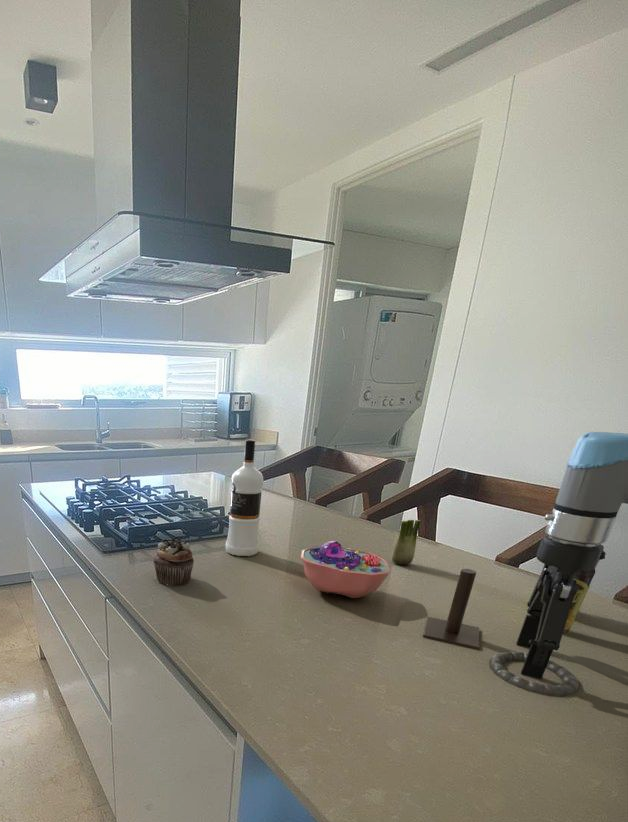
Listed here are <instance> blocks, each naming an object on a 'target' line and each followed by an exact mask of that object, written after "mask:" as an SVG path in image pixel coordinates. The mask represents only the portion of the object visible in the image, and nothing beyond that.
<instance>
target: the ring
mask: <svg viewBox="0 0 628 822" xmlns="http://www.w3.org/2000/svg"><path fill="white" fill-rule="evenodd" d="M527 655H528V653H526V652H517V651H505V652H499V653H496V654H495V655H493V656H491V658H489V660H488V667H489V669H490V670H491V671H492V673H493V674H494V675H495V676H497V677H498V678H499V679H501V680H503V681H505V682H506V683H508V684H510V685H512V686H514V687H517V688H519V689H521V690H524V691H527V692H531V693H535V694H539V695H542V696H551V697H565V696H572V695H574V694H575V693H577V691H578V690H579V688H580V684H579V682H578V679H577V677H576V676H575V675H574V674H573V673H572V672H571V671H569V669H568V668H566V667H564V666H562V665H560V664H559V663H557V662H556V661H553V660H550V659H549V661H548V664H547V666H546V669H545V670H547V671H549V672H551V673H553V674H555V675H556V676H557V677H558V678H559V679H560V680H561V684H556V685H553V684H543V683H538V682H534V681H531V680H527V679H525V678H522V677H520V676H517V675H515V674H514V673H513V672H511V671H509V670H507V668H505V666H504V665H505V664H506V663H511V662H522V663H525V660H526V657H527Z"/></svg>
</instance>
